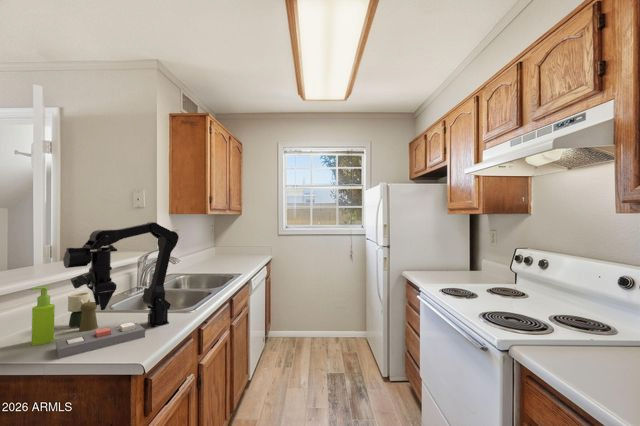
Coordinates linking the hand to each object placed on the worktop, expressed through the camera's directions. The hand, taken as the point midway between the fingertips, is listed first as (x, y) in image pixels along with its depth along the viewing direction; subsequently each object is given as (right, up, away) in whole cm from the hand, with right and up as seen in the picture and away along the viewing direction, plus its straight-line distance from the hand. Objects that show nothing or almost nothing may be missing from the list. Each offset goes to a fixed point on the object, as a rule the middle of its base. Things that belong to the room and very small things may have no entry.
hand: (100, 307), depth 109 cm
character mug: (-20, -13, +15) cm, 28 cm away
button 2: (+9, -10, +2) cm, 13 cm away
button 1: (-2, -11, -9) cm, 15 cm away
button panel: (+4, -12, -4) cm, 13 cm away
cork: (-12, -13, +10) cm, 20 cm away
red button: (+4, -10, -4) cm, 11 cm away
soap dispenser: (-19, -12, -3) cm, 23 cm away
